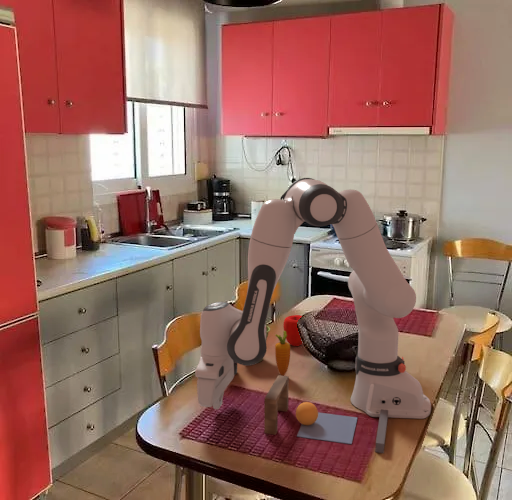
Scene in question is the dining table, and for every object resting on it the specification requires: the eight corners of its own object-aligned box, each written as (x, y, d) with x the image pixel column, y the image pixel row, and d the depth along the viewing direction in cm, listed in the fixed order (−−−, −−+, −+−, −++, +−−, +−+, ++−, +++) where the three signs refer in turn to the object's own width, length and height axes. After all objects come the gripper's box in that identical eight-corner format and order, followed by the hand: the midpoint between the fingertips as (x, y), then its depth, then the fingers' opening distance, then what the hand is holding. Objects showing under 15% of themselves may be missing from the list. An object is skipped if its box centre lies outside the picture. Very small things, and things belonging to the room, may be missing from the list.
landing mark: (357, 418, 159) (357, 417, 159) (351, 444, 146) (351, 443, 146) (307, 411, 163) (307, 410, 163) (296, 436, 149) (296, 435, 149)
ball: (295, 399, 159) (301, 419, 159) (291, 409, 153) (296, 430, 154) (316, 396, 157) (322, 417, 158) (312, 406, 151) (318, 428, 152)
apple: (291, 338, 219) (291, 310, 217) (311, 343, 214) (312, 315, 212) (278, 345, 212) (278, 317, 210) (299, 350, 207) (299, 321, 205)
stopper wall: (387, 418, 159) (388, 410, 158) (383, 453, 142) (384, 443, 141) (380, 417, 159) (380, 409, 159) (375, 452, 142) (375, 442, 142)
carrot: (279, 381, 182) (279, 335, 179) (271, 375, 187) (272, 330, 184) (293, 378, 185) (293, 333, 181) (285, 372, 189) (285, 328, 186)
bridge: (288, 408, 165) (288, 376, 163) (275, 434, 150) (275, 400, 148) (278, 407, 165) (278, 375, 163) (264, 433, 151) (264, 398, 149)
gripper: (218, 345, 170) (219, 389, 173) (192, 373, 151) (193, 422, 153) (239, 347, 168) (239, 392, 171) (215, 376, 149) (216, 425, 152)
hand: (217, 406), depth 162 cm, fingers closed
